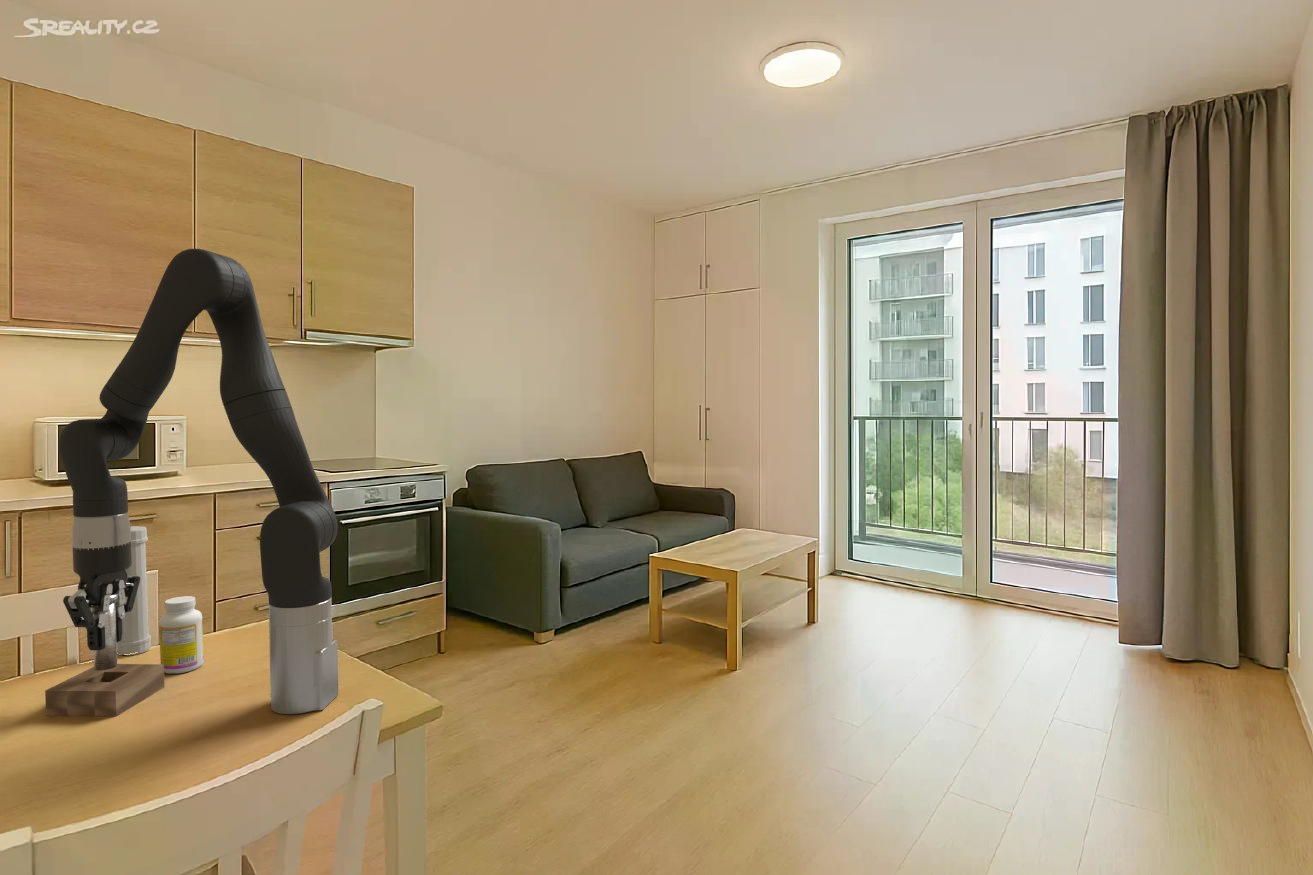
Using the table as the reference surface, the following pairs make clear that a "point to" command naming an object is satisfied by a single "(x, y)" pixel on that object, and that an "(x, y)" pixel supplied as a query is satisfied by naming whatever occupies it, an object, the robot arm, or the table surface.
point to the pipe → (136, 600)
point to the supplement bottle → (181, 636)
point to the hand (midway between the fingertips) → (105, 645)
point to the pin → (107, 639)
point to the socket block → (104, 690)
